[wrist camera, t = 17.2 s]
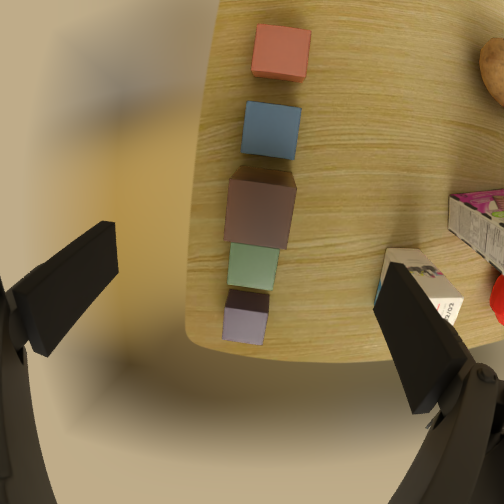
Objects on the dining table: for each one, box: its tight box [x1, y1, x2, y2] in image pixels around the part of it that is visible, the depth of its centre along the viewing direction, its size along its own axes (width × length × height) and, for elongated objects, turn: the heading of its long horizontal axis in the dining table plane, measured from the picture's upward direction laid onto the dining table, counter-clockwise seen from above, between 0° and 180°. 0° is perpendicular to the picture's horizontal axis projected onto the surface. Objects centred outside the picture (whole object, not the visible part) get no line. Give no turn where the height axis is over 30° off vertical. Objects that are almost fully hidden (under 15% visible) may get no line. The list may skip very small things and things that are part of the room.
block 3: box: [227, 242, 280, 291], centre depth 33 cm, size 5×5×4 cm
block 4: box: [222, 289, 269, 345], centre depth 37 cm, size 5×5×4 cm
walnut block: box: [224, 166, 297, 249], centre depth 29 cm, size 6×6×8 cm
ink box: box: [374, 248, 464, 325], centre depth 28 cm, size 8×5×15 cm, turn 179°
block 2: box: [241, 101, 302, 160], centre depth 28 cm, size 5×5×4 cm
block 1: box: [251, 24, 311, 83], centre depth 24 cm, size 5×5×4 cm
